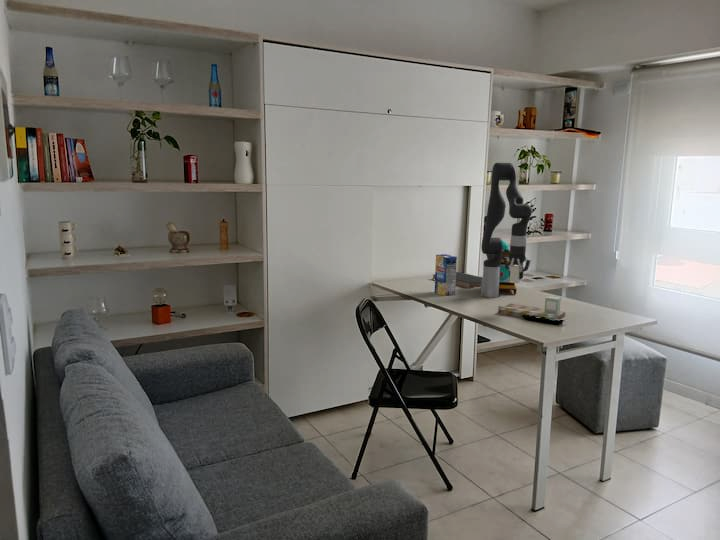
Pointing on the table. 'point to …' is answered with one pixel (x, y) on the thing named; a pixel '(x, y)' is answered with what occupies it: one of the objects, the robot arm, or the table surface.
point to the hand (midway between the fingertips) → (515, 278)
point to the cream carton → (515, 274)
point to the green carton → (552, 305)
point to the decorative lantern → (504, 270)
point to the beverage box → (445, 274)
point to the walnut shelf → (527, 311)
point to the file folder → (467, 280)
